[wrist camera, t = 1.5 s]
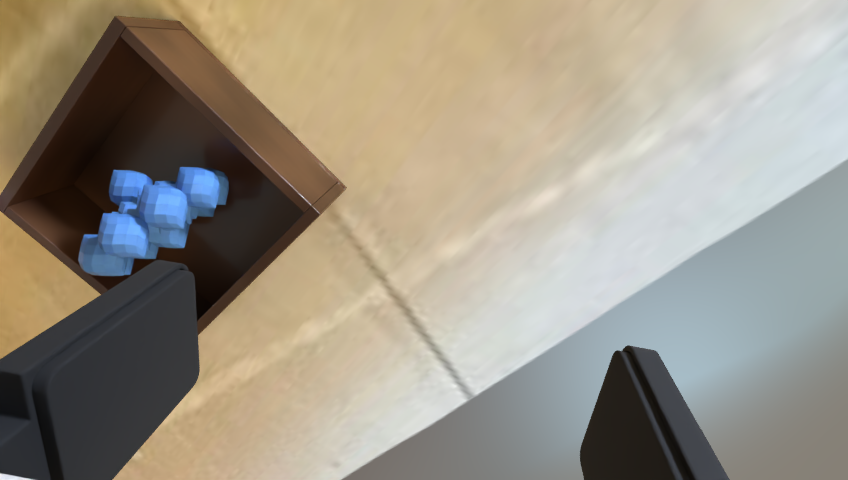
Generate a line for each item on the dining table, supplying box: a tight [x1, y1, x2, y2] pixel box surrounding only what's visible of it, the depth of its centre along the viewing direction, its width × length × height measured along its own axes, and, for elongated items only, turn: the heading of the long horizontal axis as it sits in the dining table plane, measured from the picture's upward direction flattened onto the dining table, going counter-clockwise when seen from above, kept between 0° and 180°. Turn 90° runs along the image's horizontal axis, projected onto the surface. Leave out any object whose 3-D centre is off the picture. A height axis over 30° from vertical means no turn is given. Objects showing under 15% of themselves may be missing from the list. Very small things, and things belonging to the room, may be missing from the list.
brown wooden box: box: [0, 16, 346, 335], centre depth 36 cm, size 17×18×6 cm
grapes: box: [78, 167, 229, 276], centre depth 33 cm, size 12×7×12 cm, turn 125°
